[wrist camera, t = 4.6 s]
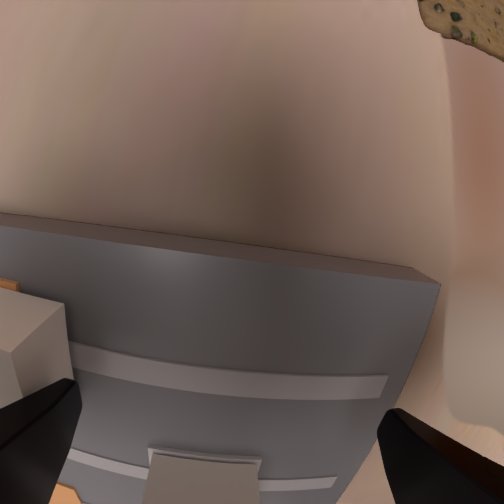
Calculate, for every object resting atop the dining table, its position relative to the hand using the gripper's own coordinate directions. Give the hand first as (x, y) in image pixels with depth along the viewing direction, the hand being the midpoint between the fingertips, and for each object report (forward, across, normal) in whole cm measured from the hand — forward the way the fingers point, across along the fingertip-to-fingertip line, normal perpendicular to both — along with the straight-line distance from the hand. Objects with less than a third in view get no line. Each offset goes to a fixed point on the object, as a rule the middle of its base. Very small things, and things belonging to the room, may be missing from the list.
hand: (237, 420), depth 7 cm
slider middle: (+2, +1, +6) cm, 6 cm away
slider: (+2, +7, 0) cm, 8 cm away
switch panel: (+4, +4, +6) cm, 8 cm away
